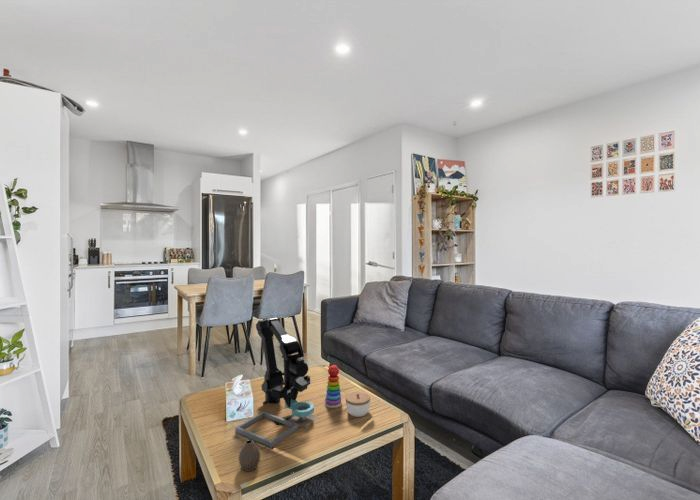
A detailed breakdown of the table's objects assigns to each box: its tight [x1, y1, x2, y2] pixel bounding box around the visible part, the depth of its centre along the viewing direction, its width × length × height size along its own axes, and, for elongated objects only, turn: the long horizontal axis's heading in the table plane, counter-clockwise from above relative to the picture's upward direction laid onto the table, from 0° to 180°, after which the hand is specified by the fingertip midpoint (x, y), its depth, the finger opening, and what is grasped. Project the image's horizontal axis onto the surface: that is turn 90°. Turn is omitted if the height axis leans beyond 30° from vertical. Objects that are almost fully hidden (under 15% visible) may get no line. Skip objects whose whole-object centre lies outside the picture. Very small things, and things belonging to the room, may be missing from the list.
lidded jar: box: [345, 391, 371, 418], centre depth 150 cm, size 11×11×9 cm
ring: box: [284, 399, 315, 417], centre depth 146 cm, size 14×9×3 cm, turn 57°
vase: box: [238, 439, 261, 472], centre depth 116 cm, size 7×7×9 cm
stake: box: [288, 406, 320, 429], centre depth 145 cm, size 10×10×6 cm
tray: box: [234, 411, 300, 450], centre depth 137 cm, size 20×15×2 cm
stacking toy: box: [324, 364, 343, 409], centre depth 158 cm, size 8×8×19 cm
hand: (291, 405), depth 148 cm, fingers closed on ring, 2 cm apart
